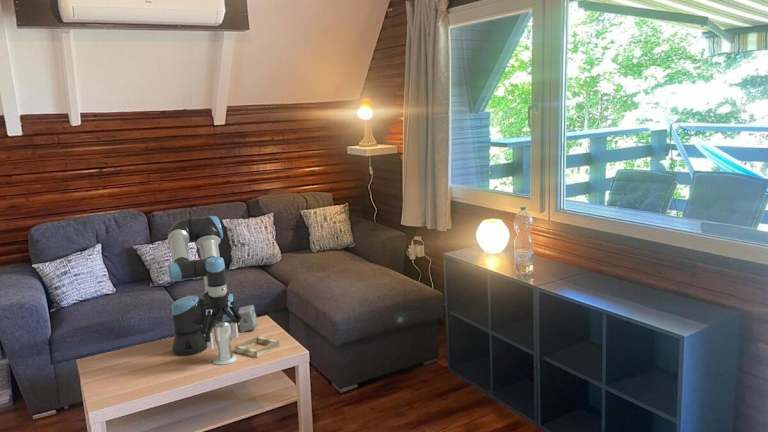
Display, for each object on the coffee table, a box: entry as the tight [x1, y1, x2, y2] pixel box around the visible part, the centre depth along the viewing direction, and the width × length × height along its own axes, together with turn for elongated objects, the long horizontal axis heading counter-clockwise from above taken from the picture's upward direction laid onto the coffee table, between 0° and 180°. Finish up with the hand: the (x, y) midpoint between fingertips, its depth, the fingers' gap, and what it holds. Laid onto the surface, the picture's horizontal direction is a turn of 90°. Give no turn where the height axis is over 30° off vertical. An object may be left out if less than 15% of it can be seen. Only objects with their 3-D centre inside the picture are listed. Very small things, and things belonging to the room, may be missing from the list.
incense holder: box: [238, 304, 258, 333], centre depth 295 cm, size 10×8×10 cm
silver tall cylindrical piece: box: [213, 321, 233, 361], centre depth 259 cm, size 7×7×15 cm
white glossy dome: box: [212, 353, 238, 366], centre depth 260 cm, size 10×10×1 cm
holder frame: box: [234, 335, 281, 358], centre depth 270 cm, size 14×14×2 cm
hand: (223, 342), depth 259 cm, fingers open, 13 cm apart
